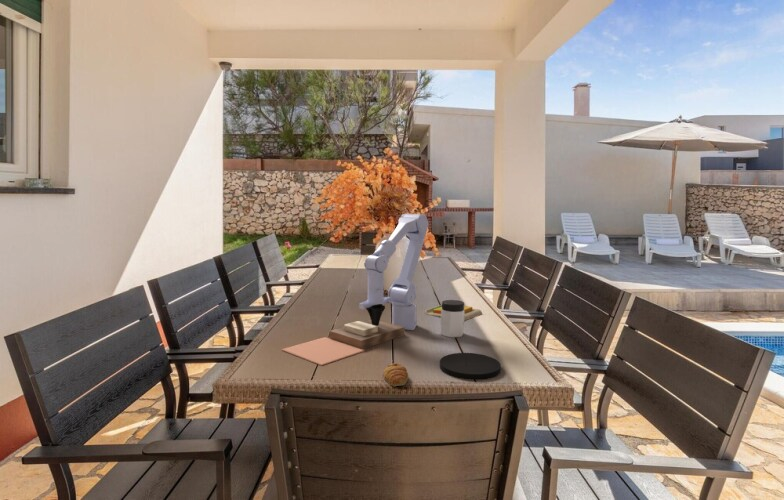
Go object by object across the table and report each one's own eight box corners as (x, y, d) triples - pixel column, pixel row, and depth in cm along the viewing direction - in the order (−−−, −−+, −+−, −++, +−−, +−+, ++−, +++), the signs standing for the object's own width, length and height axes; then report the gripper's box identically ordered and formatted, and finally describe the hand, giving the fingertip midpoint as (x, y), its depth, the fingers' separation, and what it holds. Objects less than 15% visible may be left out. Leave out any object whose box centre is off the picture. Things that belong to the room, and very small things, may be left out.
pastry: (412, 387, 127) (412, 373, 126) (387, 389, 126) (387, 375, 125) (404, 374, 136) (404, 361, 136) (381, 375, 135) (381, 363, 134)
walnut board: (373, 326, 183) (373, 318, 183) (404, 335, 172) (404, 327, 172) (329, 339, 167) (329, 330, 166) (361, 349, 156) (361, 340, 156)
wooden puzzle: (446, 307, 217) (446, 300, 216) (482, 314, 205) (483, 306, 204) (423, 315, 203) (424, 307, 203) (461, 323, 191) (462, 314, 191)
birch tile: (357, 326, 173) (357, 320, 172) (377, 331, 166) (377, 326, 166) (343, 330, 167) (343, 324, 167) (363, 336, 161) (363, 330, 161)
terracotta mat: (324, 338, 168) (324, 337, 168) (364, 351, 155) (364, 350, 154) (281, 350, 155) (281, 349, 154) (321, 365, 141) (321, 364, 141)
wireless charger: (469, 355, 153) (469, 349, 153) (513, 372, 139) (513, 365, 139) (427, 366, 142) (427, 360, 142) (470, 386, 128) (470, 379, 128)
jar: (443, 329, 180) (444, 298, 178) (465, 331, 177) (466, 300, 176) (438, 336, 171) (439, 304, 170) (461, 338, 169) (462, 305, 167)
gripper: (369, 292, 162) (369, 331, 164) (397, 287, 173) (396, 323, 175) (355, 290, 167) (355, 327, 169) (383, 284, 178) (382, 319, 179)
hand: (375, 325), depth 172 cm, fingers closed
